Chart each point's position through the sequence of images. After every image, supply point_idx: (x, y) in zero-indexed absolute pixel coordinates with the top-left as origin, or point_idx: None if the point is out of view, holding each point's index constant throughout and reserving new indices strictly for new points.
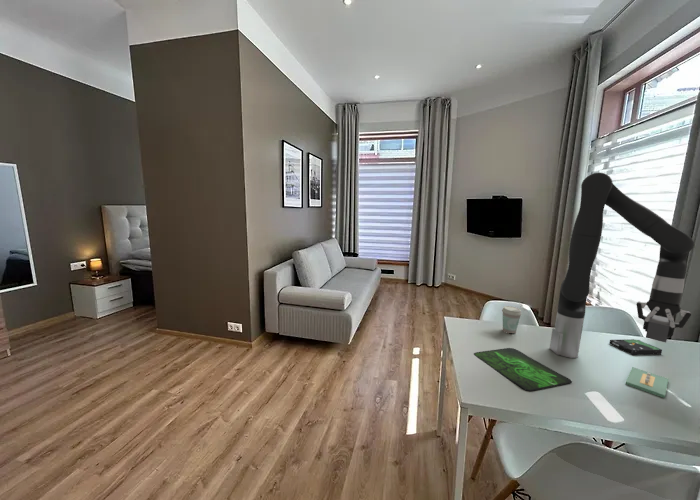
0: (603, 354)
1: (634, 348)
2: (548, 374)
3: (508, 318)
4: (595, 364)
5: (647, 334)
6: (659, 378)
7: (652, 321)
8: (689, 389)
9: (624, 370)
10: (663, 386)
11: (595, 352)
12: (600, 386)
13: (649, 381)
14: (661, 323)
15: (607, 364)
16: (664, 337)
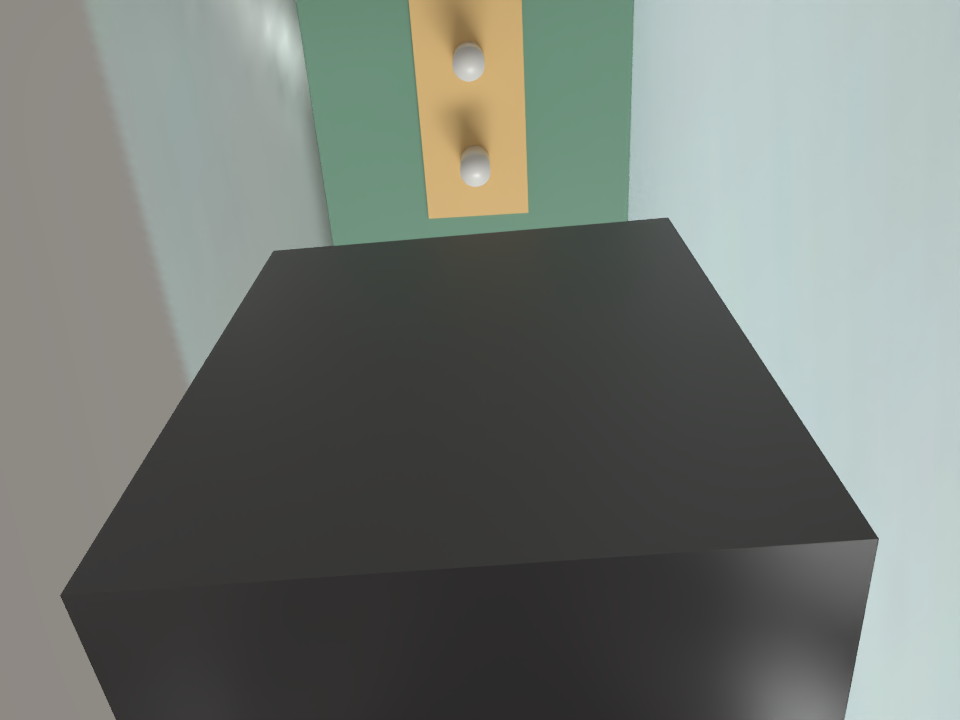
0: (867, 424)
1: None
2: None
3: None
4: (950, 41)
5: (665, 255)
6: (397, 233)
7: (731, 691)
8: (194, 281)
9: (676, 181)
10: (327, 30)
11: (938, 406)
12: None
13: (446, 22)
14: (404, 717)
15: (830, 181)
16: (294, 302)
